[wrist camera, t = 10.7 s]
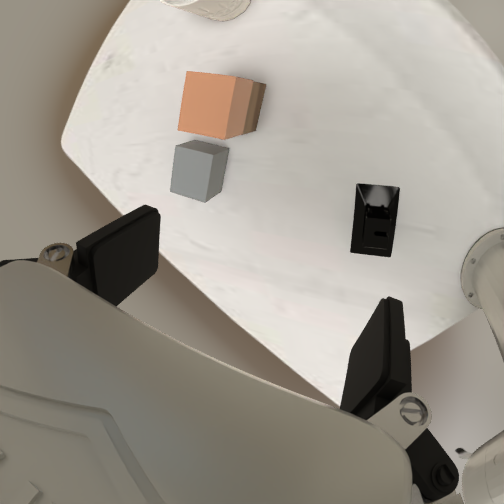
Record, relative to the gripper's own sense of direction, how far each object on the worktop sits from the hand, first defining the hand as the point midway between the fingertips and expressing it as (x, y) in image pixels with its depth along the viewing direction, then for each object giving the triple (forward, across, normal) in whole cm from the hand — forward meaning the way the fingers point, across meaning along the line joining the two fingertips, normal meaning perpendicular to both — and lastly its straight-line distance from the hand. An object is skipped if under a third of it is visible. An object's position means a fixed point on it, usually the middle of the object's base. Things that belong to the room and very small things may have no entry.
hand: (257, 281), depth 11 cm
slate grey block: (+26, +15, +5) cm, 30 cm away
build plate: (+28, -7, +5) cm, 29 cm away
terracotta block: (+21, +12, -4) cm, 24 cm away
